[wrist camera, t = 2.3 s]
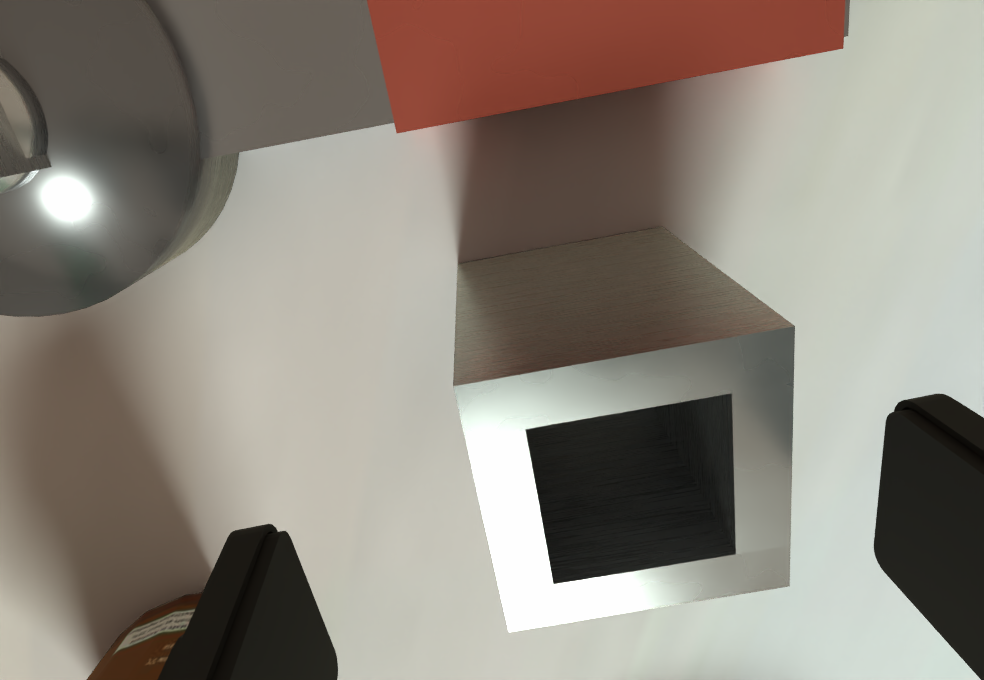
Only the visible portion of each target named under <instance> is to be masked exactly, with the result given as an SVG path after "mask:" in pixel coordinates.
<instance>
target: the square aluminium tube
mask: <svg viewBox="0 0 984 680" xmlns="http://www.w3.org/2000/svg"><path fill="white" fill-rule="evenodd" d="M794 338H795V326H794V325H793V324H791V323H790V322H789V321H787V320H786V319H785V318H783V317H782V316H781V315H779V314H778V313H777V312H775V311H774V310H773V309H771V308H770V307H769V306H767V305H766V304H765V303H763V302H762V301H761V300H759V299H758V298H757V297H755V296H754V295H753V294H751V293H750V292H749V291H747V290H746V289H745V288H743V287H742V286H741V285H739V284H738V283H737V282H735V281H734V280H733V279H731V278H730V277H729V276H727V275H726V274H725V273H723V272H722V271H721V270H719V269H718V268H717V267H715V266H714V265H713V264H711V263H710V262H709V261H707V260H706V259H705V258H703V257H702V256H701V255H699V254H698V253H697V252H695V251H694V250H693V249H691V248H690V247H689V246H687V245H686V244H685V243H683V242H682V241H681V240H679V239H678V238H677V237H675V236H674V235H673V234H671V233H670V232H669V231H667V230H666V229H665V228H663V227H657V228H651V229H646V230H640V231H635V232H630V233H624V234H619V235H613V236H608V237H602V238H597V239H591V240H586V241H580V242H575V243H569V244H564V245H558V246H553V247H547V248H542V249H536V250H531V251H525V252H520V253H515V254H509V255H504V256H498V257H493V258H487V259H482V260H476V261H471V262H465V263H460V264H458V269H457V297H456V325H455V352H454V380H453V387H454V392H455V396H456V401H457V405H458V409H459V414H460V418H461V423H462V427H463V432H464V436H465V440H466V445H467V449H468V454H469V458H470V462H471V467H472V471H473V476H474V480H475V485H476V489H477V493H478V498H479V502H480V507H481V511H482V515H483V520H484V524H485V529H486V533H487V538H488V542H489V546H490V551H491V555H492V560H493V564H494V569H495V573H496V577H497V582H498V586H499V591H500V595H501V599H502V604H503V608H504V613H505V617H506V622H507V626H508V630H509V632H513V631H519V630H525V629H531V628H537V627H543V626H549V625H556V624H562V623H568V622H574V621H580V620H586V619H592V618H598V617H604V616H611V615H617V614H623V613H629V612H635V611H641V610H647V609H653V608H659V607H665V606H672V605H678V604H684V603H690V602H696V601H702V600H708V599H714V598H720V597H727V596H733V595H739V594H745V593H751V592H757V591H763V590H769V589H775V588H781V587H788V586H790V537H791V487H792V438H793V388H794Z"/></svg>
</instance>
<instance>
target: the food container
mask: <svg viewBox="0 0 984 680" xmlns="http://www.w3.org/2000/svg"><path fill="white" fill-rule="evenodd" d="M201 595H202V593H197V594H190V595H185V596H182V597H180V598H178V599H175V600H173V601H171V602H168V603H166V604H163V605H161V606H159V607H156V608H154V609H151V610H149V611H147V612H145V613H144V614H143V615H142V616H141V617H140V618H139V619H138V620H136V621H135V622H134V623H133V624H132V625H131V626H130V627H129V628H127V629H126V630H125V631H124V632H123V633H122V634H121V635H120V636H119V637H118V638H117V640H116V641H115V642H114V644H113V645H112V646H111V648H110V649H109V650H108V652H107V653H106V654H105V656H104V657H103V659H102V660H101V661H100V663H99V664H98V665H97V667H96V668H95V669H94V671H93V672H92V673H91V675H90V676H89V677H88V679H87V680H157V679H158V677H159V675H160V673H161V671H162V669H163V666H164V664H165V662H166V660H167V658H168V656H169V654H170V651H171V649H172V647H173V646H174V644H175V643H176V641H177V639H178V638H179V637H180V636H182V635H183V634H184V633H185V631H186V628H187V626H188V624H189V622H190V620H191V617H192V615H193V613H194V611H195V609H196V606H197V604H198V602H199V600H200V598H201Z"/></svg>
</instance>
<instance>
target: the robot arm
mask: <svg viewBox="0 0 984 680" xmlns="http://www.w3.org/2000/svg"><path fill="white" fill-rule="evenodd" d="M874 552H875V556H876V559H877V561H878V563H879V565H880V567H881V568H882V570H883V571H884V572H885V573H886V574H887V576H888V577H889V578H890V579H891V580H892V581H893V582H894V583H895V584H896V586H897V587H898V588H899V589H900V590H901V591H902V592H903V593H904V594H905V596H906V597H907V598H908V599H909V600H910V601H911V602H912V603H913V604H914V606H915V607H916V608H917V609H918V610H919V611H920V612H921V613H922V614H923V616H924V617H925V618H926V619H927V620H928V621H929V622H930V623H931V625H932V626H933V627H934V628H935V629H936V630H937V631H938V632H939V633H940V635H941V636H942V637H943V638H944V639H945V640H946V641H947V642H948V643H949V645H950V646H951V647H952V648H953V649H954V650H955V651H956V652H957V653H958V655H959V656H960V657H961V658H962V659H963V660H964V661H965V662H966V663H967V665H968V666H969V667H970V668H971V669H972V670H973V671H974V672H975V673H976V675H977V676H978V677H979V678H980V679H981V680H984V418H983V417H981V416H980V415H978V414H977V413H975V412H973V411H972V410H970V409H969V408H967V407H966V406H964V405H962V404H961V403H959V402H958V401H956V400H954V399H953V398H951V397H949V396H947V395H945V394H933V395H928V396H923V397H918V398H913V399H908V400H903V401H901V402H899V403H898V404H897V405H896V407H895V410H894V412H892V413H890V414H889V415H888V417H887V419H886V426H885V436H884V446H883V456H882V466H881V477H880V487H879V497H878V507H877V517H876V528H875V538H874ZM337 676H338V664H337V656H336V653H335V649H334V647H333V644H332V642H331V639H330V637H329V634H328V632H327V629H326V627H325V624H324V622H323V619H322V616H321V614H320V611H319V609H318V606H317V604H316V601H315V599H314V596H313V594H312V591H311V588H310V586H309V583H308V581H307V578H306V576H305V573H304V571H303V568H302V566H301V563H300V561H299V558H298V555H297V553H296V550H295V548H294V545H293V543H292V540H291V538H290V536H289V534H288V533H287V532H286V531H281V532H278V531H277V529H276V528H275V527H274V526H273V525H272V524H266V525H261V526H256V527H251V528H246V529H240V530H235V531H233V532H232V533H231V534H230V535H229V537H228V538H227V540H226V543H225V545H224V547H223V549H222V551H221V554H220V556H219V558H218V560H217V562H216V565H215V567H214V569H213V571H212V573H211V576H210V578H209V580H208V582H207V584H206V587H205V589H204V591H203V593H202V595H201V598H200V600H199V602H198V604H197V606H196V609H195V611H194V613H193V615H192V617H191V620H190V622H189V624H188V626H187V628H186V631H185V633H184V634H183V635H182V636H180V637H179V638H178V639H177V641H176V643H175V644H174V646H173V647H172V649H171V651H170V654H169V656H168V658H167V660H166V662H165V664H164V666H163V669H162V671H161V673H160V675H159V677H158V679H157V680H337Z"/></svg>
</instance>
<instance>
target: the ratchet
mask: <svg viewBox="0 0 984 680" xmlns="http://www.w3.org/2000/svg"><path fill="white" fill-rule="evenodd" d="M849 5H850V0H0V315H7V316H38V317H39V316H48V315H56V314H64V313H68V312H72V311H76V310H80V309H84V308H87V307H90V306H92V305H94V304H97V303H99V302H102V301H104V300H107V299H109V298H110V297H112V296H114V295H115V294H117V293H119V292H120V291H122V290H124V289H125V288H127V287H129V286H130V285H132V284H133V283H135V282H137V281H138V280H140V279H142V278H143V277H145V276H146V275H148V274H150V273H151V272H153V271H155V270H156V269H158V268H159V267H161V266H163V265H164V264H166V263H168V262H169V261H171V260H173V259H174V258H176V257H177V256H179V255H181V254H182V253H184V252H186V251H187V250H188V249H189V248H190V247H192V246H193V245H194V244H195V243H196V242H198V241H199V240H200V239H201V238H202V237H203V236H204V234H205V233H206V232H207V231H208V230H209V229H210V228H211V227H212V225H213V224H214V222H215V221H216V219H217V218H218V216H219V215H220V213H221V211H222V210H223V208H224V206H225V203H226V201H227V199H228V197H229V194H230V192H231V190H232V186H233V182H234V179H235V175H236V171H237V165H238V157H239V152H243V151H248V150H253V149H258V148H264V147H269V146H274V145H279V144H285V143H290V142H295V141H300V140H306V139H311V138H316V137H321V136H326V135H332V134H337V133H342V132H347V131H353V130H358V129H363V128H368V127H374V126H379V125H384V124H389V123H395V127H396V132H397V133H401V132H406V131H411V130H417V129H422V128H427V127H433V126H438V125H443V124H448V123H454V122H459V121H464V120H469V119H475V118H480V117H485V116H490V115H496V114H501V113H506V112H511V111H517V110H522V109H527V108H532V107H538V106H543V105H548V104H553V103H559V102H564V101H569V100H575V99H580V98H585V97H590V96H596V95H601V94H606V93H611V92H617V91H622V90H627V89H632V88H638V87H643V86H648V85H653V84H659V83H664V82H669V81H674V80H680V79H685V78H690V77H696V76H701V75H706V74H711V73H717V72H722V71H727V70H732V69H738V68H743V67H748V66H753V65H759V64H764V63H769V62H774V61H780V60H785V59H790V58H795V57H801V56H806V55H811V54H816V53H822V52H827V51H832V50H838V49H843V42H844V37H846V36H848V27H849Z"/></svg>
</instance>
